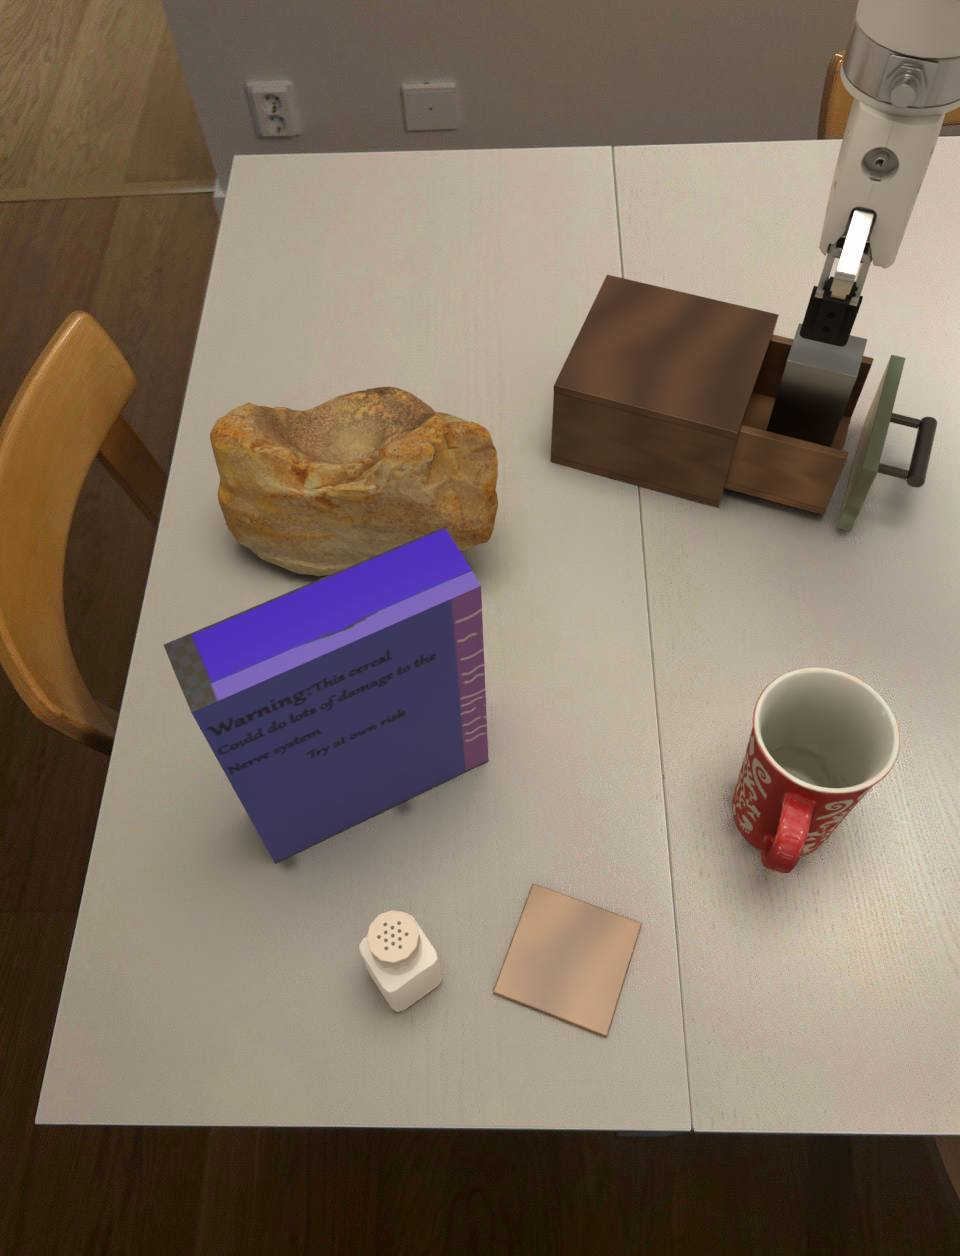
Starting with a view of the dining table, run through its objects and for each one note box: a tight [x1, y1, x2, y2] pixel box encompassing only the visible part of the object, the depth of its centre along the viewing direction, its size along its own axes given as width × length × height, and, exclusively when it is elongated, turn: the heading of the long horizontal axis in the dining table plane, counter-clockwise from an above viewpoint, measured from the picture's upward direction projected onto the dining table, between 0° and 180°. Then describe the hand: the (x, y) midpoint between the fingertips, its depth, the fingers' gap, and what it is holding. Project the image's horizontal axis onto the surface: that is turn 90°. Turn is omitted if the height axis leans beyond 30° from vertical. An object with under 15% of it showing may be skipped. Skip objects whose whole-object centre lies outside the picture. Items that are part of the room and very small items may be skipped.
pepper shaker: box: [358, 909, 443, 1013], centre depth 68 cm, size 4×4×10 cm
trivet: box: [492, 883, 642, 1038], centre depth 73 cm, size 8×8×1 cm
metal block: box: [766, 323, 868, 447], centre depth 89 cm, size 6×4×12 cm
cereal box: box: [163, 527, 489, 865], centre depth 70 cm, size 17×5×24 cm, turn 117°
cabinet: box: [550, 274, 780, 509], centre depth 94 cm, size 16×15×10 cm
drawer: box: [724, 334, 938, 532], centre depth 91 cm, size 19×13×8 cm
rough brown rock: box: [209, 386, 499, 577], centre depth 88 cm, size 23×17×15 cm
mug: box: [731, 666, 901, 875], centre depth 72 cm, size 13×9×14 cm
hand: (835, 293), depth 75 cm, fingers open, 9 cm apart
